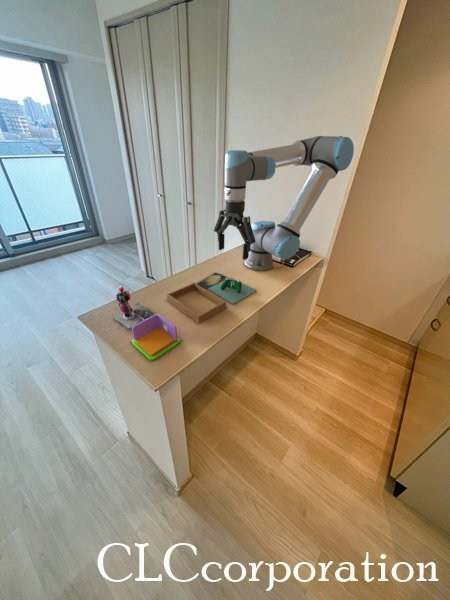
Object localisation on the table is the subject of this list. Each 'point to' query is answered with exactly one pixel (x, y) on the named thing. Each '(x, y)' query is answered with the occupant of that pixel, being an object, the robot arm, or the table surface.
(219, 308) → the box
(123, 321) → the statue
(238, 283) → the gaming controller
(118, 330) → the table surface
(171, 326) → the miniature room corner
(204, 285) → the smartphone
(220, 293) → the towel
